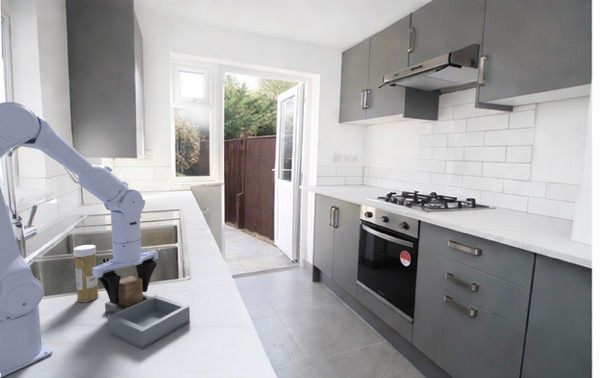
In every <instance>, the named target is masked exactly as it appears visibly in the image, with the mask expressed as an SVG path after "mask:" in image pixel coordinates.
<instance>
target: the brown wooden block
mask: <svg viewBox="0 0 601 378" xmlns="http://www.w3.org/2000/svg"><path fill="white" fill-rule="evenodd" d="M143 294H144V292H143V287H142V279H141V278H138V276H133V275H130V276H127V277H124V278H120V283H119V303H118V304H117V305H120V306H123V307H125V308H126V307H129V306H131V305H133V304H135V303H138V302H140V301H142V300H143Z"/></svg>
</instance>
